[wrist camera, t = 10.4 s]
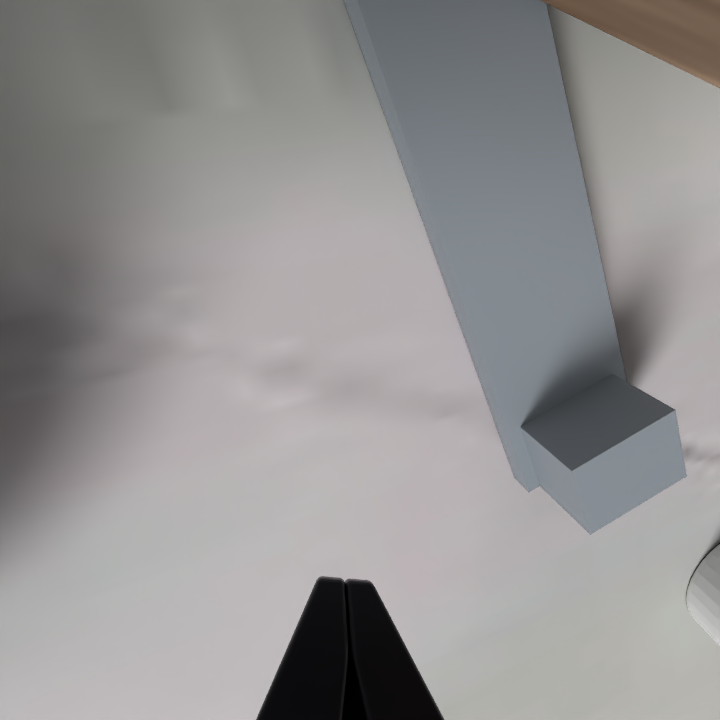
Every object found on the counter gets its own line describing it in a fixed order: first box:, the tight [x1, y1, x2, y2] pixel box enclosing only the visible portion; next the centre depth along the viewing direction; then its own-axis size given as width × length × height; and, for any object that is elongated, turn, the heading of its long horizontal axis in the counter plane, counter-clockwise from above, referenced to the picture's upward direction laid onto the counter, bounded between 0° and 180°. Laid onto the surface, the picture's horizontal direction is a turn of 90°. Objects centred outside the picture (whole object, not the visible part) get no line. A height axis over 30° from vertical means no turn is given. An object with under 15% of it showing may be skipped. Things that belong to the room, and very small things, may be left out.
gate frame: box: [344, 0, 687, 534], centre depth 17 cm, size 5×23×4 cm, turn 23°
